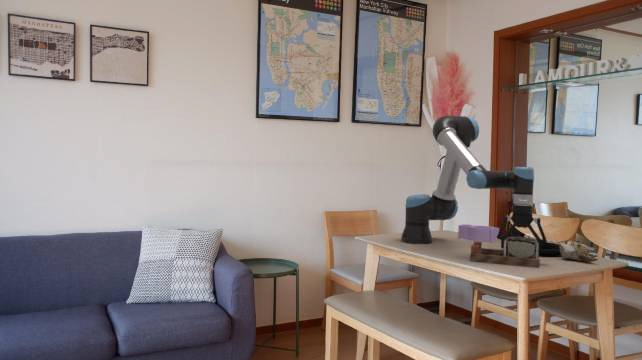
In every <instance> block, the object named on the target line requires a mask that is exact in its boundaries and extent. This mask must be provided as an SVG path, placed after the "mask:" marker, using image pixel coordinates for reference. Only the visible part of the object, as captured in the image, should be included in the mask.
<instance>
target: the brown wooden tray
mask: <svg viewBox="0 0 642 360" xmlns="http://www.w3.org/2000/svg"><path fill="white" fill-rule="evenodd" d="M482 245H483V242H480V241H473V244H471V246H470V255H469V256H470V259H469V261H470V262H475V263H487V264H497V265H505V266H507V265H508V266H518V267H529V268H530V267H531V268H540V256H539V253H538V259H536V253H534V259H529V258H517V257H508V250H506V256H504V249H497V248H496V249H495V248H487V247H486V248H485V247H483V248H482Z"/></svg>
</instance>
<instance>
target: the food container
mask: <svg viewBox="0 0 642 360" xmlns="http://www.w3.org/2000/svg"><path fill="white" fill-rule="evenodd" d="M505 240H506V242H508V257H517V258H529V259H534V253H535V246H537V239H536V238H533V237H524V236H507V237H506V239H505Z"/></svg>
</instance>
